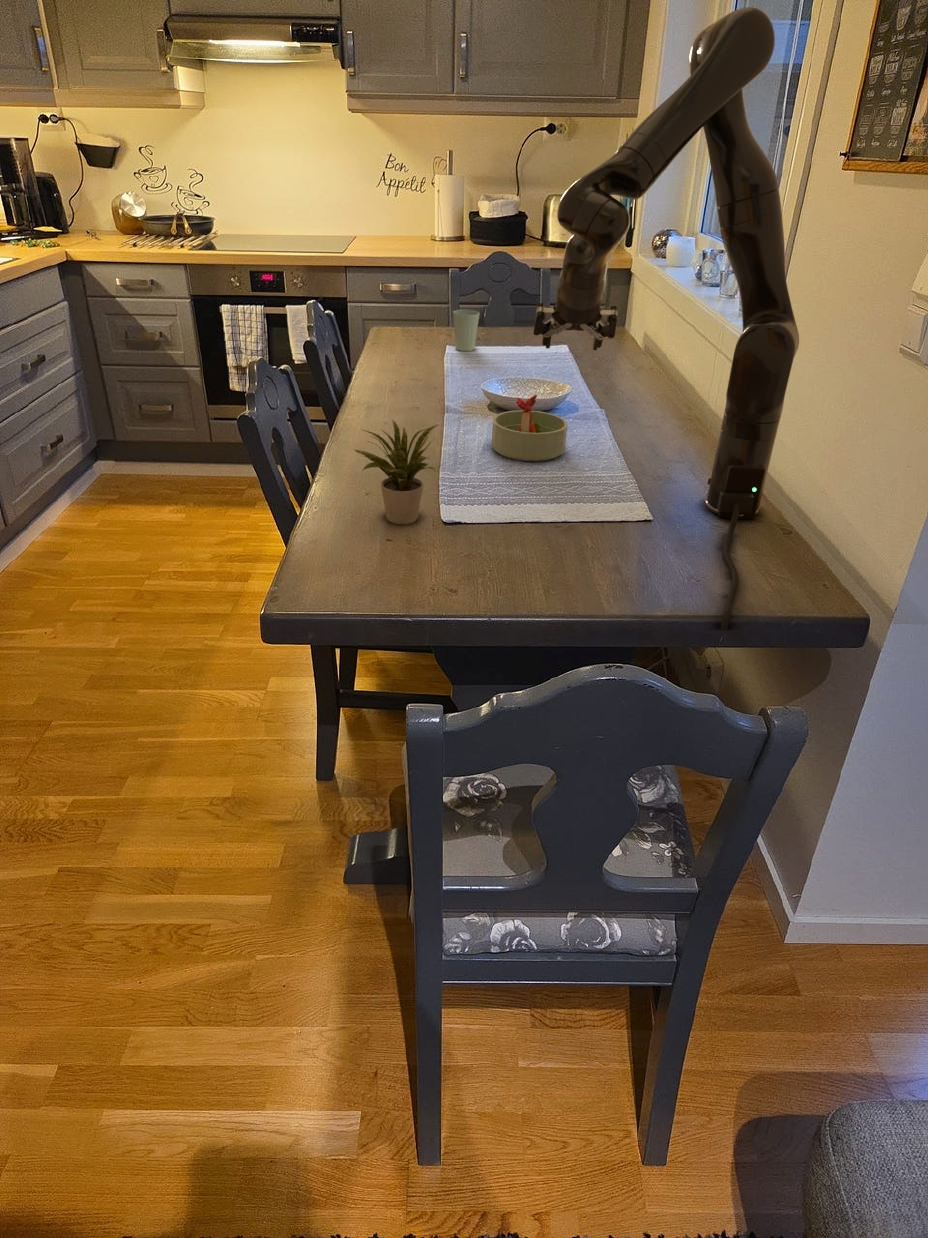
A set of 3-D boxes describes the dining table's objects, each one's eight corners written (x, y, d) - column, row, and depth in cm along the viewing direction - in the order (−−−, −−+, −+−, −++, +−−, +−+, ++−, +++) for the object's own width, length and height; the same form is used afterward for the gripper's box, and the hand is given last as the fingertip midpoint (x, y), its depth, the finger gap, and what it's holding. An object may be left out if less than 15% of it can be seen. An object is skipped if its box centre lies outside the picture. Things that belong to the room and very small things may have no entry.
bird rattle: (541, 461, 173) (543, 431, 178) (545, 419, 163) (547, 389, 169) (511, 459, 173) (514, 429, 178) (513, 417, 164) (516, 387, 169)
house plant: (403, 492, 152) (403, 403, 143) (462, 514, 144) (465, 421, 136) (346, 515, 142) (342, 421, 134) (405, 539, 135) (406, 442, 126)
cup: (446, 349, 246) (448, 312, 241) (459, 344, 252) (461, 308, 247) (469, 353, 243) (471, 315, 238) (481, 348, 249) (484, 311, 244)
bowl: (565, 464, 167) (568, 435, 164) (489, 460, 168) (491, 430, 165) (563, 439, 180) (565, 412, 177) (492, 435, 181) (494, 408, 178)
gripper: (625, 270, 137) (610, 328, 153) (538, 267, 138) (532, 325, 153) (624, 310, 135) (609, 365, 151) (536, 307, 136) (531, 361, 151)
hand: (571, 345), depth 152 cm, fingers open, 8 cm apart
